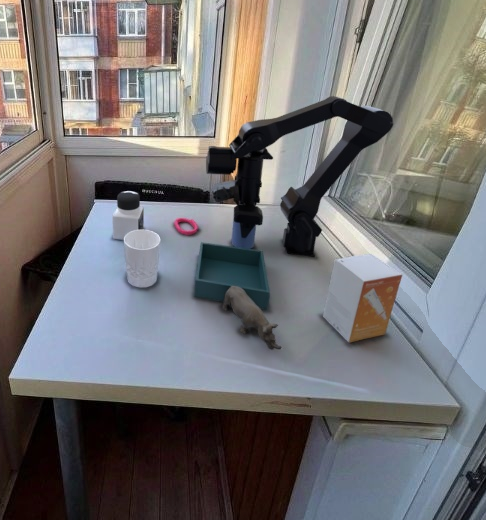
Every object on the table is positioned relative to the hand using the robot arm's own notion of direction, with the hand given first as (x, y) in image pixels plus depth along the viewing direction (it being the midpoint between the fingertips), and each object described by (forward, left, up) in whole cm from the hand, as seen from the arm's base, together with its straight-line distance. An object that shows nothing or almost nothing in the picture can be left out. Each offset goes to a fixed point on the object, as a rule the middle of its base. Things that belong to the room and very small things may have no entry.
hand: (243, 231), depth 85 cm
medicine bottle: (+30, +2, -4) cm, 30 cm away
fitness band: (+15, -5, -4) cm, 16 cm away
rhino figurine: (0, +28, -4) cm, 28 cm away
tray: (+3, +15, -4) cm, 16 cm away
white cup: (+22, +19, -4) cm, 29 cm away
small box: (-19, +22, -4) cm, 29 cm away
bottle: (0, 0, -3) cm, 3 cm away
